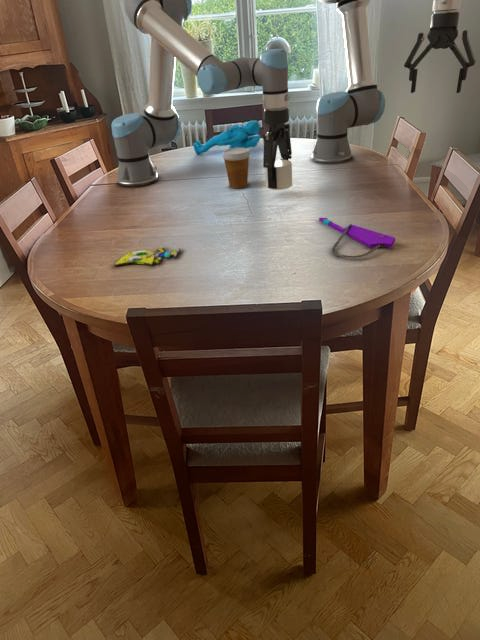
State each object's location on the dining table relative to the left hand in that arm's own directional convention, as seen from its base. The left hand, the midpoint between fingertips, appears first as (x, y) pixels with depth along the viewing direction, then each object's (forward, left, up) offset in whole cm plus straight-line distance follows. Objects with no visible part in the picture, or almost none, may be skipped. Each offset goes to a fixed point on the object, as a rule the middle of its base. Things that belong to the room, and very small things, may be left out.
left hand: (278, 183), depth 155 cm
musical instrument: (+42, -4, -4) cm, 42 cm away
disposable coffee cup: (-18, -6, -4) cm, 20 cm away
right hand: (+13, +50, +22) cm, 56 cm away
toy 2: (+21, -51, -4) cm, 55 cm away
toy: (-64, +11, -4) cm, 65 cm away
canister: (0, 0, -1) cm, 1 cm away
